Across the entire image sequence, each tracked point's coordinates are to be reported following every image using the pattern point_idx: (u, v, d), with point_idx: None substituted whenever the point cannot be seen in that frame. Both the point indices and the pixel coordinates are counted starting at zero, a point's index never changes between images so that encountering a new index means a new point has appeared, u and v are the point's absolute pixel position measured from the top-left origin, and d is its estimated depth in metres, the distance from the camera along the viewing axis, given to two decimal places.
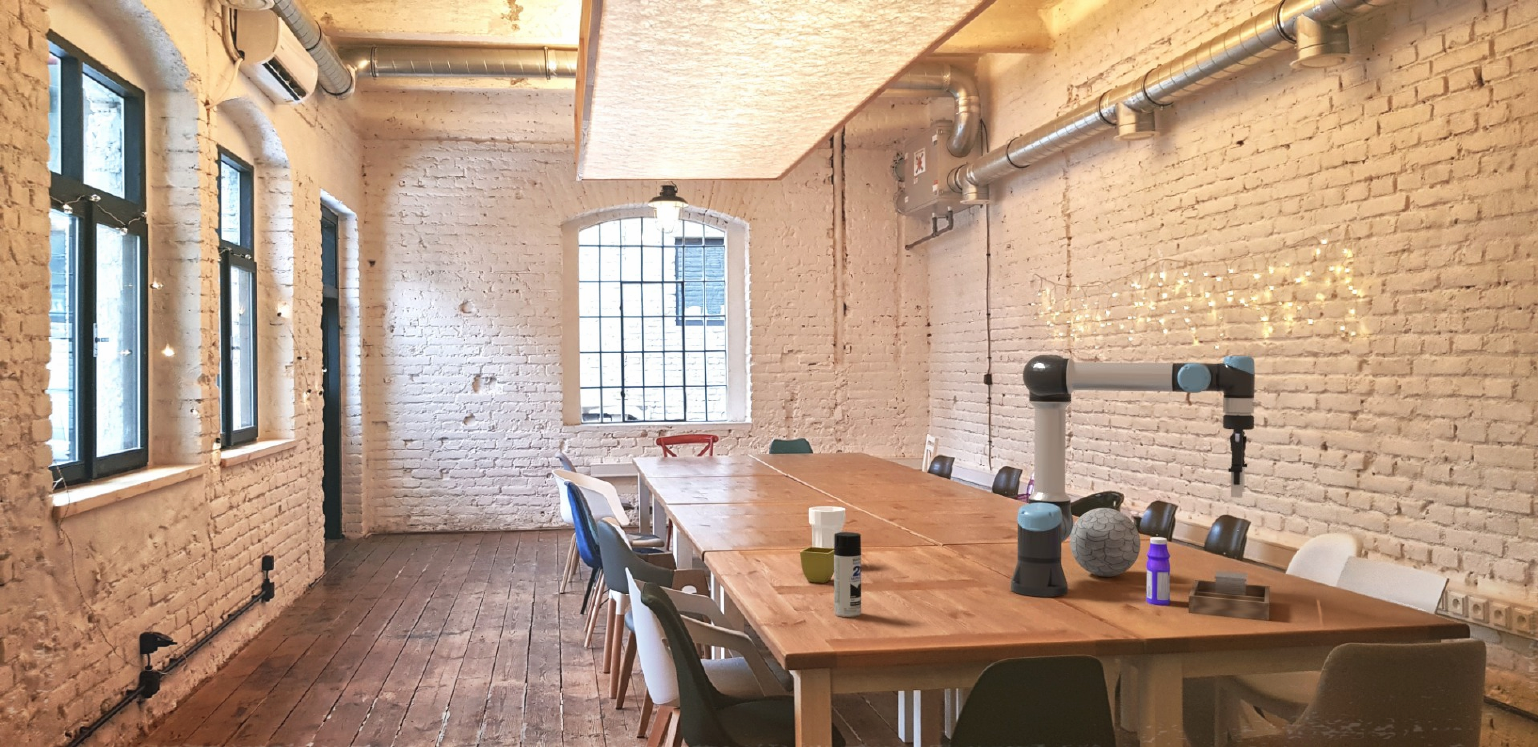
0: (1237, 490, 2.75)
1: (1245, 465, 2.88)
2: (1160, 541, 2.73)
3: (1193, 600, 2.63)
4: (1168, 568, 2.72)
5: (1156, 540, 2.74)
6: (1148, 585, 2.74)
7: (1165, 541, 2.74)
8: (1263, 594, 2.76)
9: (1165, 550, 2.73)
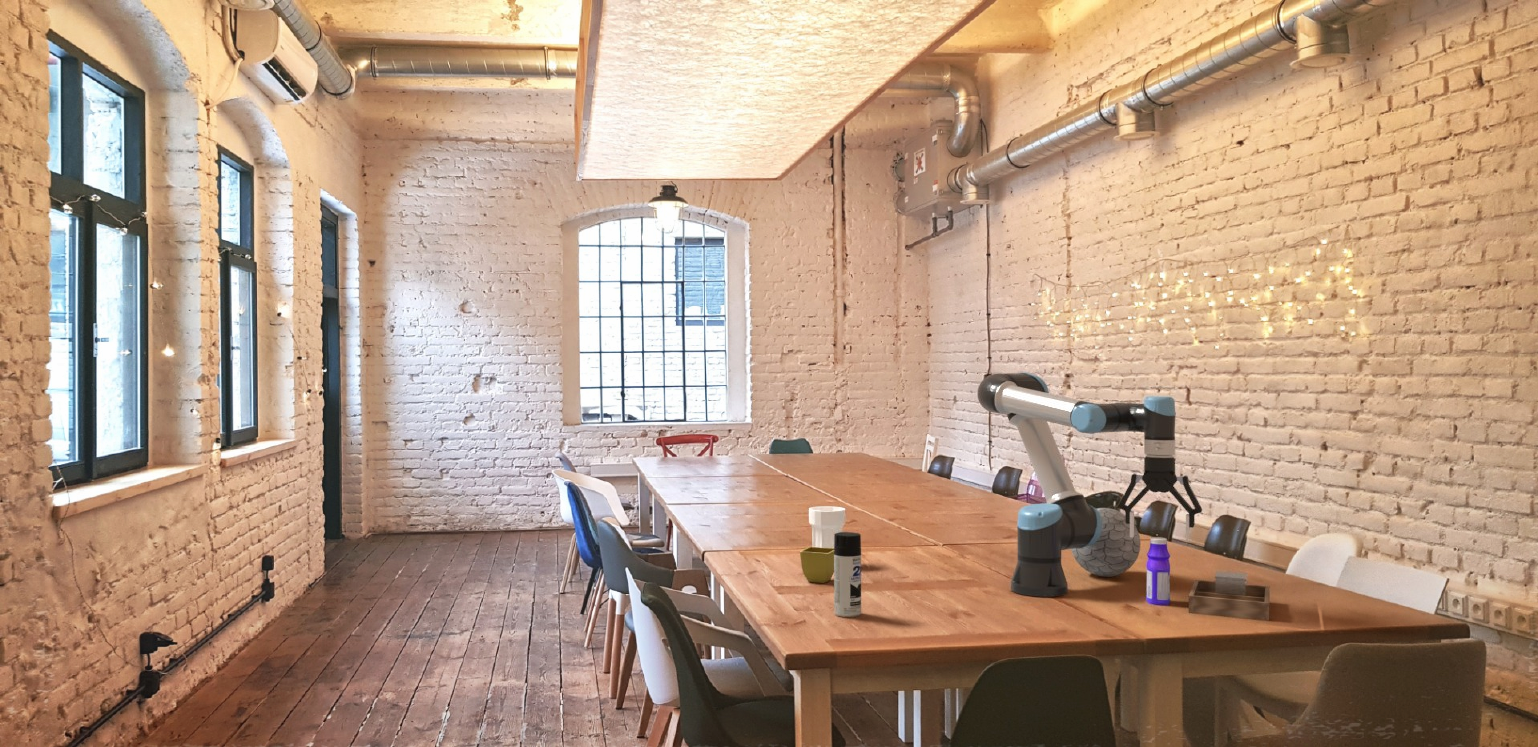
0: None
1: (1190, 513, 2.70)
2: (1160, 541, 2.73)
3: (1193, 600, 2.63)
4: (1168, 568, 2.72)
5: (1156, 540, 2.74)
6: (1148, 585, 2.74)
7: (1165, 541, 2.74)
8: (1263, 594, 2.76)
9: (1165, 550, 2.73)
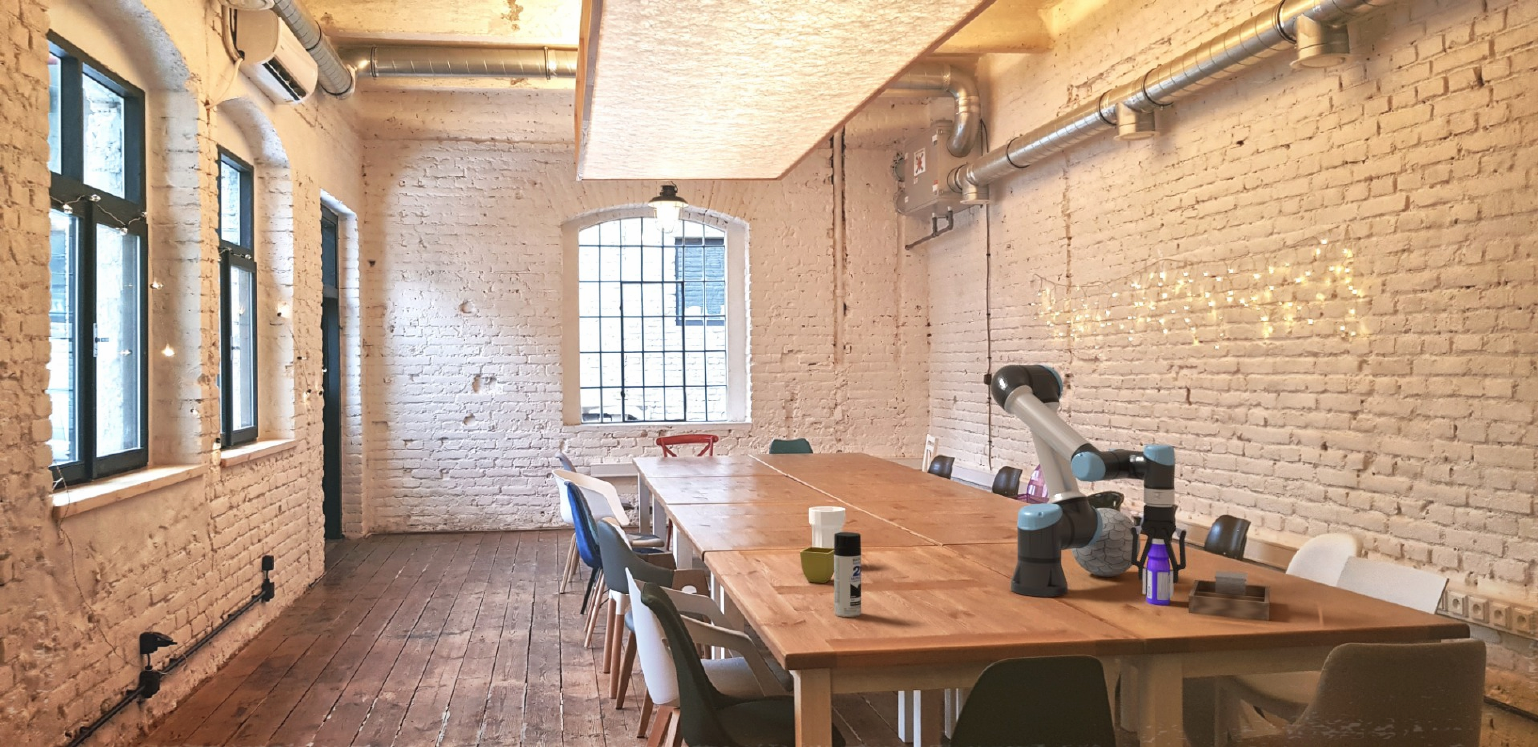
0: None
1: (1174, 569, 2.72)
2: (1160, 541, 2.73)
3: (1193, 600, 2.63)
4: (1168, 568, 2.72)
5: (1156, 540, 2.73)
6: (1148, 585, 2.74)
7: None
8: (1263, 594, 2.76)
9: (1165, 550, 2.73)
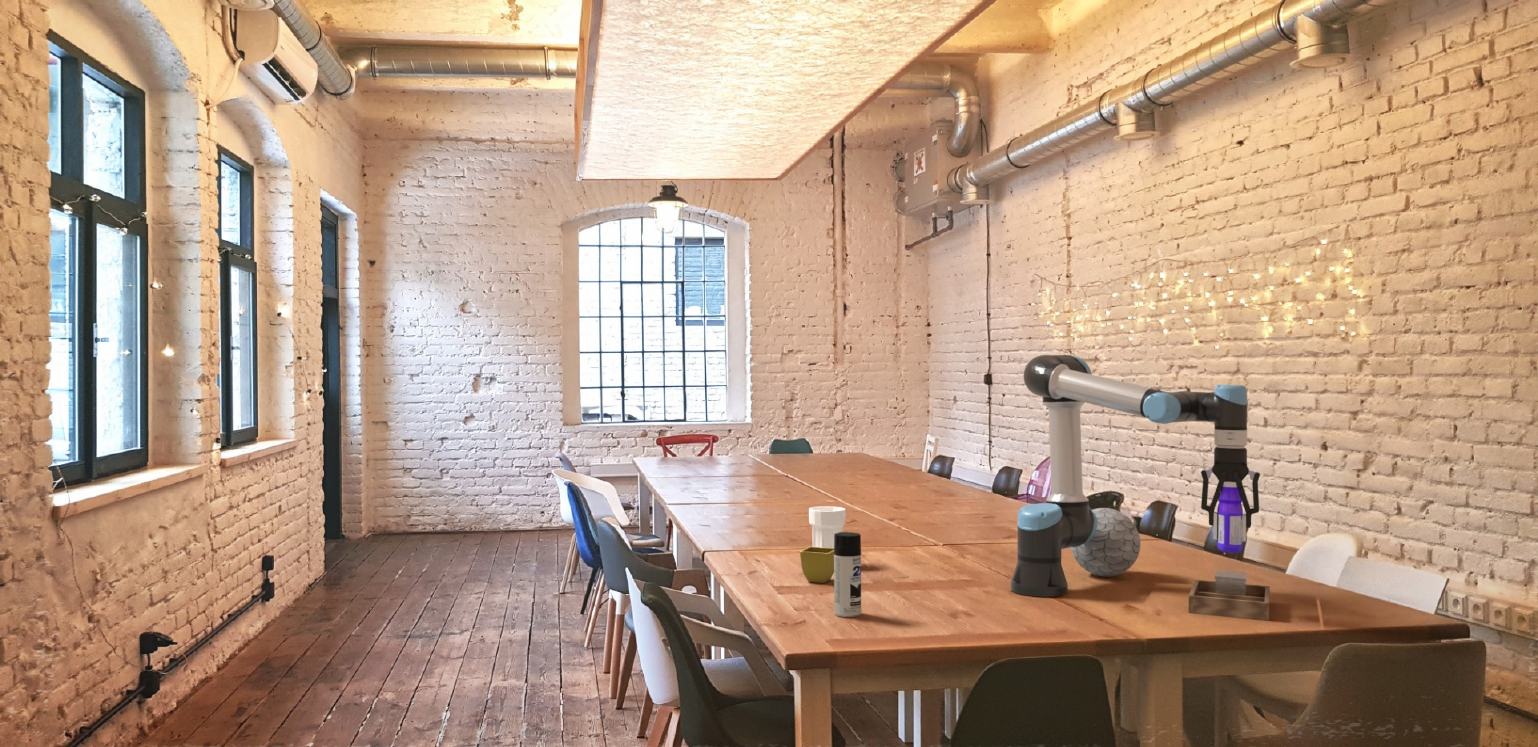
0: None
1: (1247, 512, 2.62)
2: (1232, 484, 2.63)
3: (1193, 600, 2.63)
4: (1241, 512, 2.62)
5: (1228, 483, 2.63)
6: (1220, 530, 2.64)
7: None
8: (1263, 594, 2.76)
9: (1238, 493, 2.63)
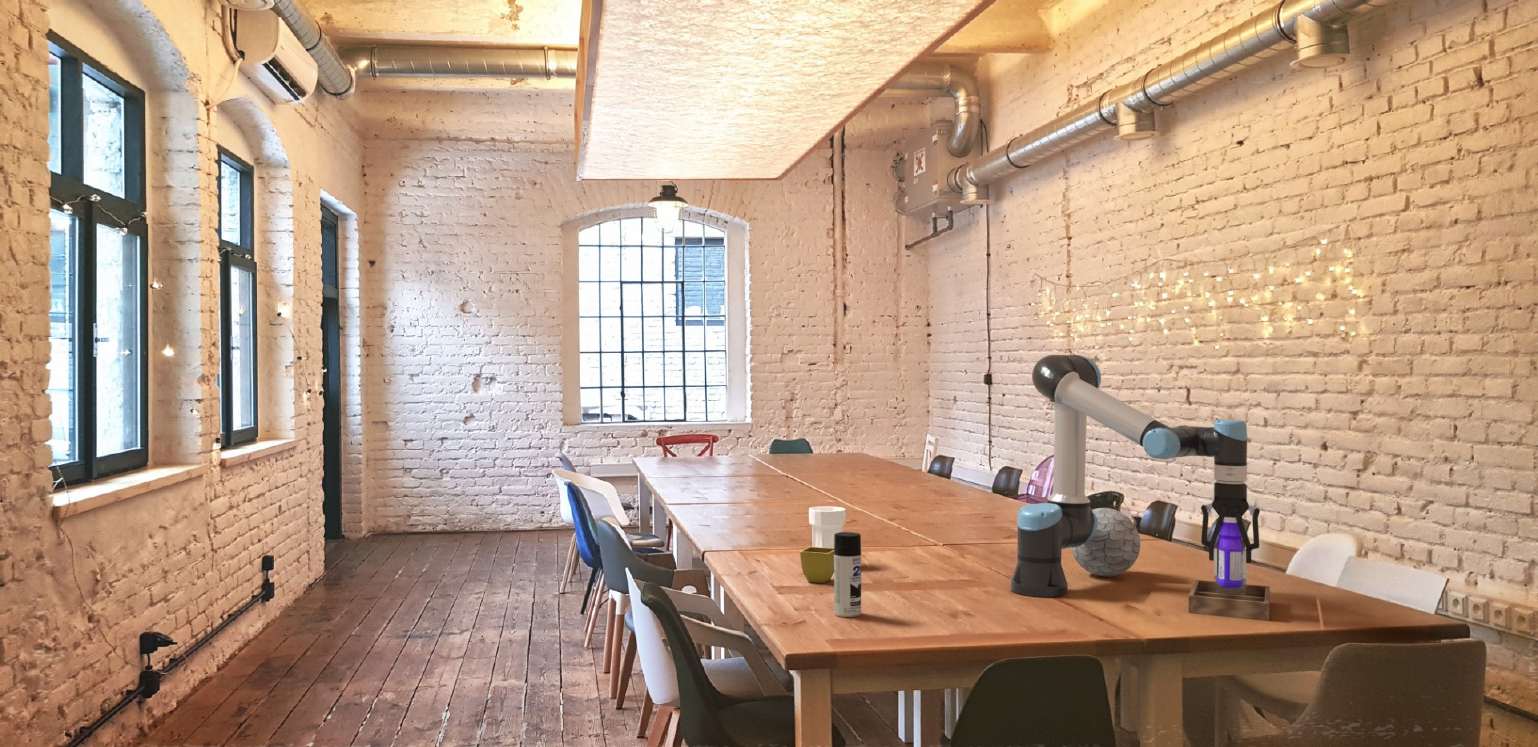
0: None
1: (1247, 548, 2.62)
2: (1232, 519, 2.63)
3: (1193, 600, 2.63)
4: (1241, 547, 2.62)
5: (1228, 518, 2.63)
6: (1220, 565, 2.64)
7: None
8: (1263, 594, 2.76)
9: (1238, 529, 2.63)
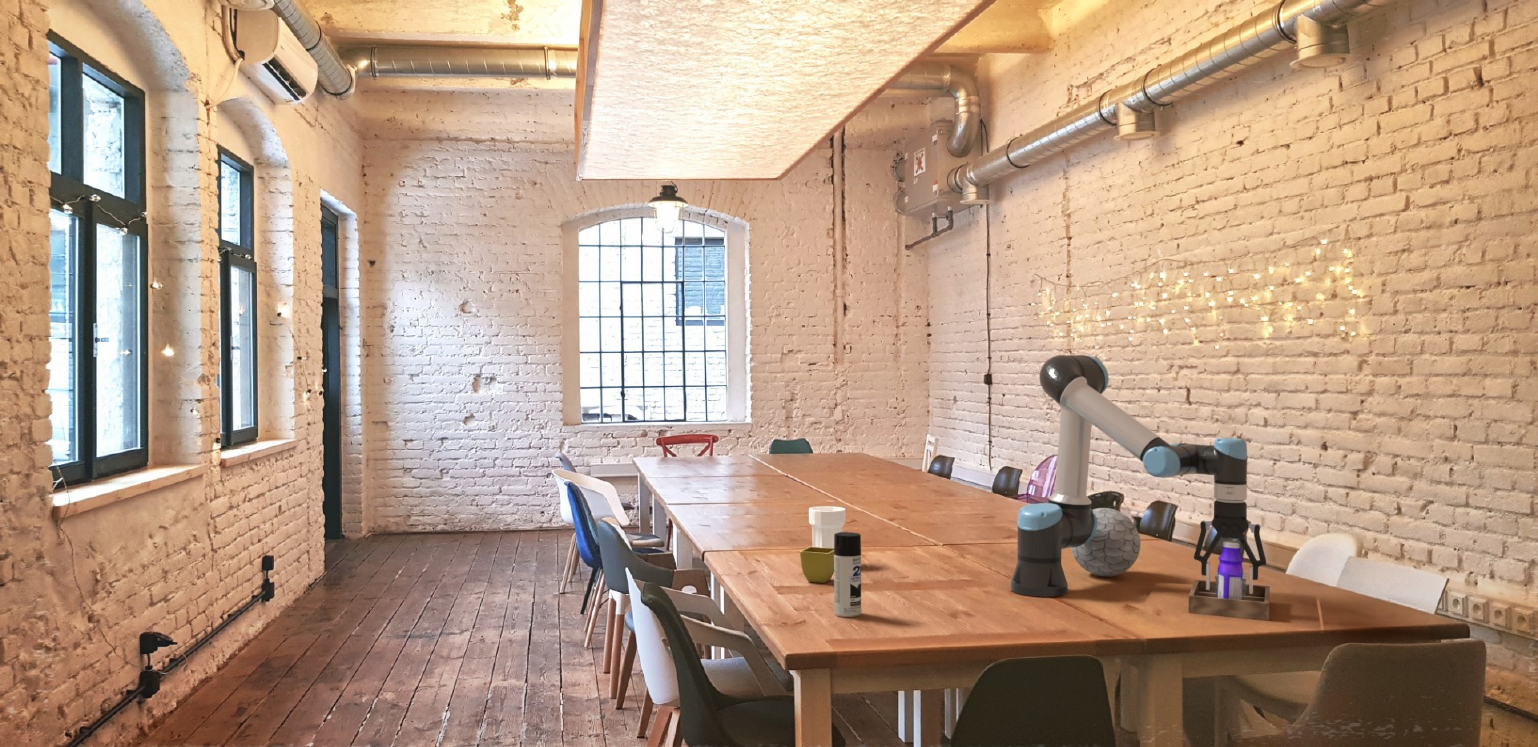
0: None
1: (1254, 565, 2.61)
2: (1233, 545, 2.63)
3: (1193, 600, 2.63)
4: (1241, 573, 2.62)
5: (1229, 543, 2.63)
6: (1219, 590, 2.64)
7: (1238, 545, 2.63)
8: (1263, 594, 2.76)
9: (1238, 554, 2.63)
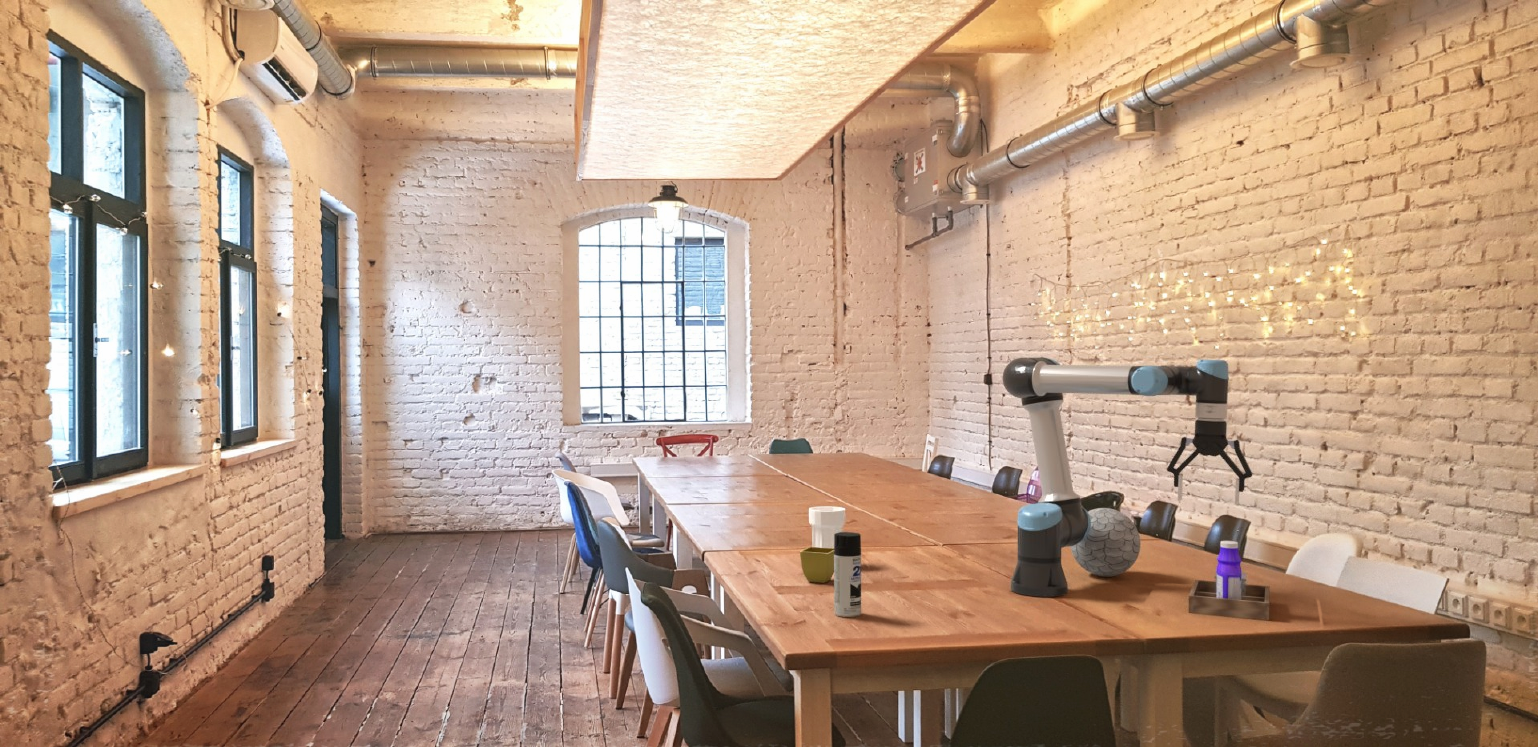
0: None
1: (1241, 477, 2.69)
2: (1231, 545, 2.63)
3: (1193, 600, 2.63)
4: (1240, 573, 2.62)
5: (1227, 544, 2.63)
6: (1218, 590, 2.64)
7: (1236, 545, 2.63)
8: (1263, 594, 2.76)
9: (1236, 554, 2.63)
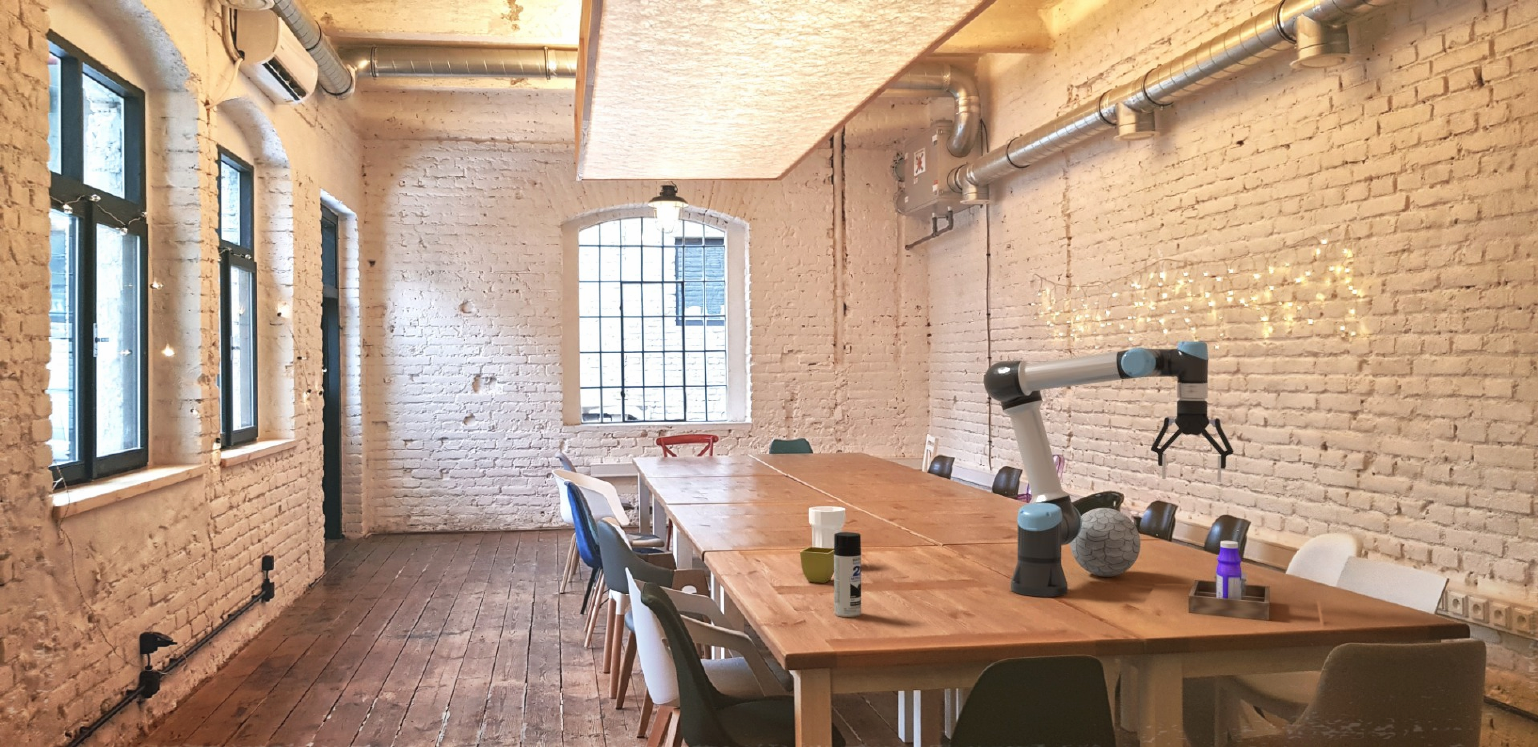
0: None
1: (1222, 454, 2.77)
2: (1231, 545, 2.63)
3: (1193, 600, 2.63)
4: (1240, 573, 2.62)
5: (1227, 544, 2.63)
6: (1218, 590, 2.64)
7: (1236, 545, 2.63)
8: (1263, 594, 2.76)
9: (1236, 554, 2.63)
